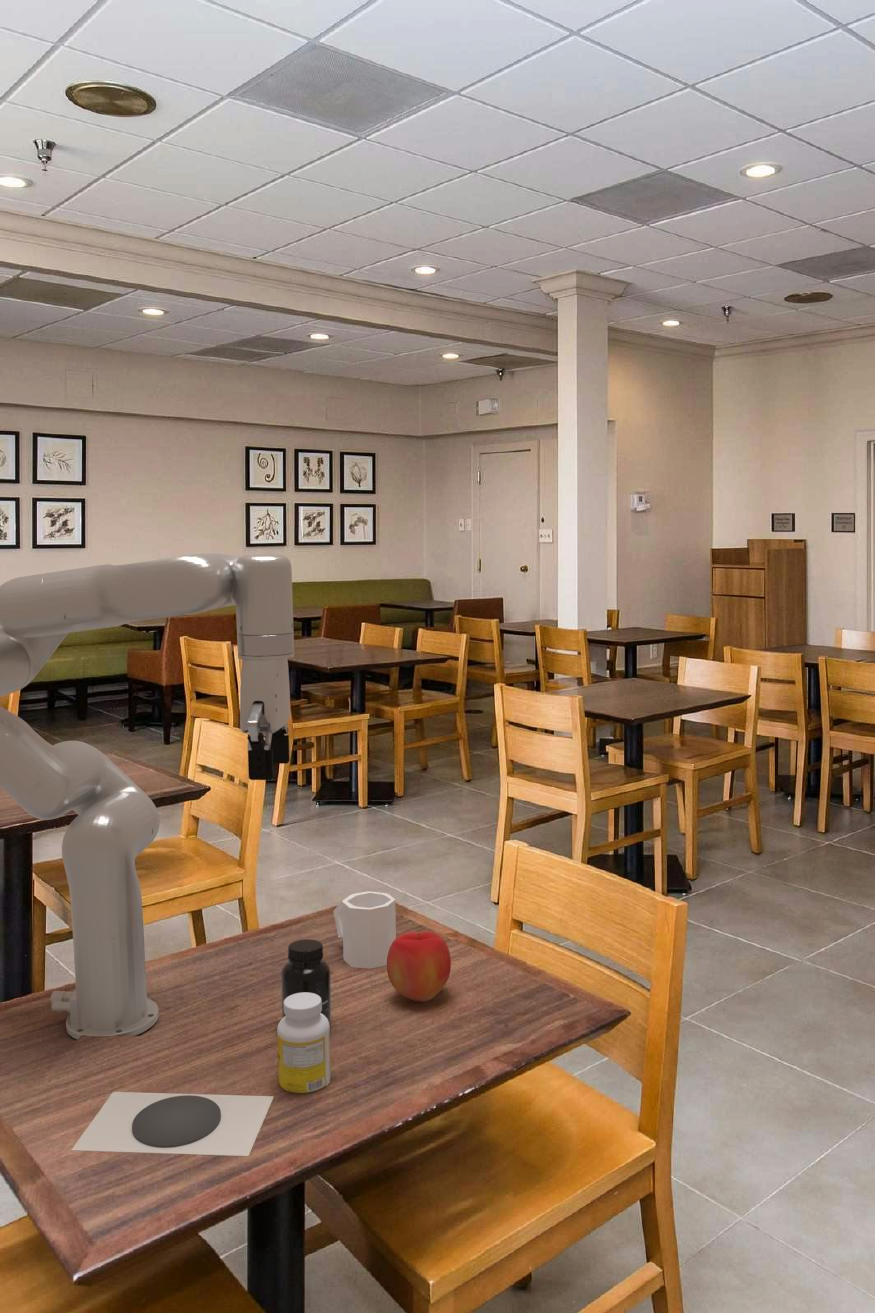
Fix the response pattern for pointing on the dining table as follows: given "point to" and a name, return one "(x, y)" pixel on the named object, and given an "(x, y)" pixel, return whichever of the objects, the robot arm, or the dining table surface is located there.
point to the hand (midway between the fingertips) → (269, 770)
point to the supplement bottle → (307, 973)
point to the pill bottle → (303, 1045)
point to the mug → (366, 928)
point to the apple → (418, 965)
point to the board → (227, 1139)
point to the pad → (176, 1121)
